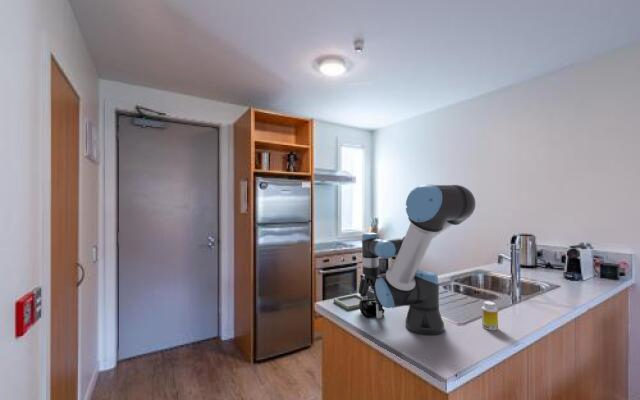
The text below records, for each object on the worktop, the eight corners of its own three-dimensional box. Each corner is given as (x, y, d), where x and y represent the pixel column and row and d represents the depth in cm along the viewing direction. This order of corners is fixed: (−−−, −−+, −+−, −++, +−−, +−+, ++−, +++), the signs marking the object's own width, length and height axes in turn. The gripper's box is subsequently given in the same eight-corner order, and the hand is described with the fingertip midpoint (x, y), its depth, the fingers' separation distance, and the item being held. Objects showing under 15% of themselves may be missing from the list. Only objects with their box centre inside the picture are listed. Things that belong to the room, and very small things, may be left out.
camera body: (384, 300, 153) (384, 288, 153) (373, 302, 150) (373, 290, 150) (370, 294, 163) (370, 283, 163) (360, 296, 160) (360, 284, 160)
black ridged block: (378, 310, 139) (378, 296, 139) (385, 315, 132) (385, 301, 132) (359, 313, 136) (358, 298, 136) (365, 318, 129) (365, 303, 129)
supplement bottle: (500, 331, 114) (500, 305, 114) (486, 330, 115) (485, 305, 115) (493, 325, 120) (493, 300, 120) (479, 324, 120) (479, 300, 120)
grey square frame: (371, 305, 146) (371, 301, 146) (348, 310, 139) (347, 306, 139) (356, 297, 158) (356, 293, 158) (333, 302, 151) (333, 298, 151)
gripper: (393, 269, 126) (394, 320, 126) (362, 261, 146) (363, 304, 146) (380, 271, 123) (381, 324, 122) (350, 262, 143) (351, 307, 142)
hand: (371, 313), depth 134 cm, fingers open, 10 cm apart
